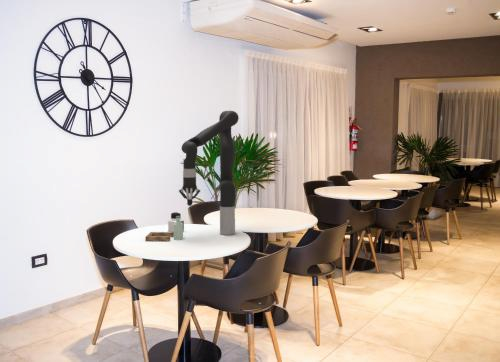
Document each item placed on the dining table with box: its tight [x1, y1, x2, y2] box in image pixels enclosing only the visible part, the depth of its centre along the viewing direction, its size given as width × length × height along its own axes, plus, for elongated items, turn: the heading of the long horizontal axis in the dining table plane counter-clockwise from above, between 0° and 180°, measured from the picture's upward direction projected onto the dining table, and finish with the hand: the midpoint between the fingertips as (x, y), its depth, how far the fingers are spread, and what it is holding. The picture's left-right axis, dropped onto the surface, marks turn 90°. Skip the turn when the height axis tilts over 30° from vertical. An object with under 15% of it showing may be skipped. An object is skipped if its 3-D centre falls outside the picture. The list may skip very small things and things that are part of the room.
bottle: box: [173, 216, 184, 241], centre depth 278 cm, size 5×5×14 cm
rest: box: [145, 231, 174, 242], centre depth 279 cm, size 14×13×2 cm
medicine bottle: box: [167, 211, 185, 232], centre depth 298 cm, size 7×7×12 cm
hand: (189, 205), depth 276 cm, fingers closed
